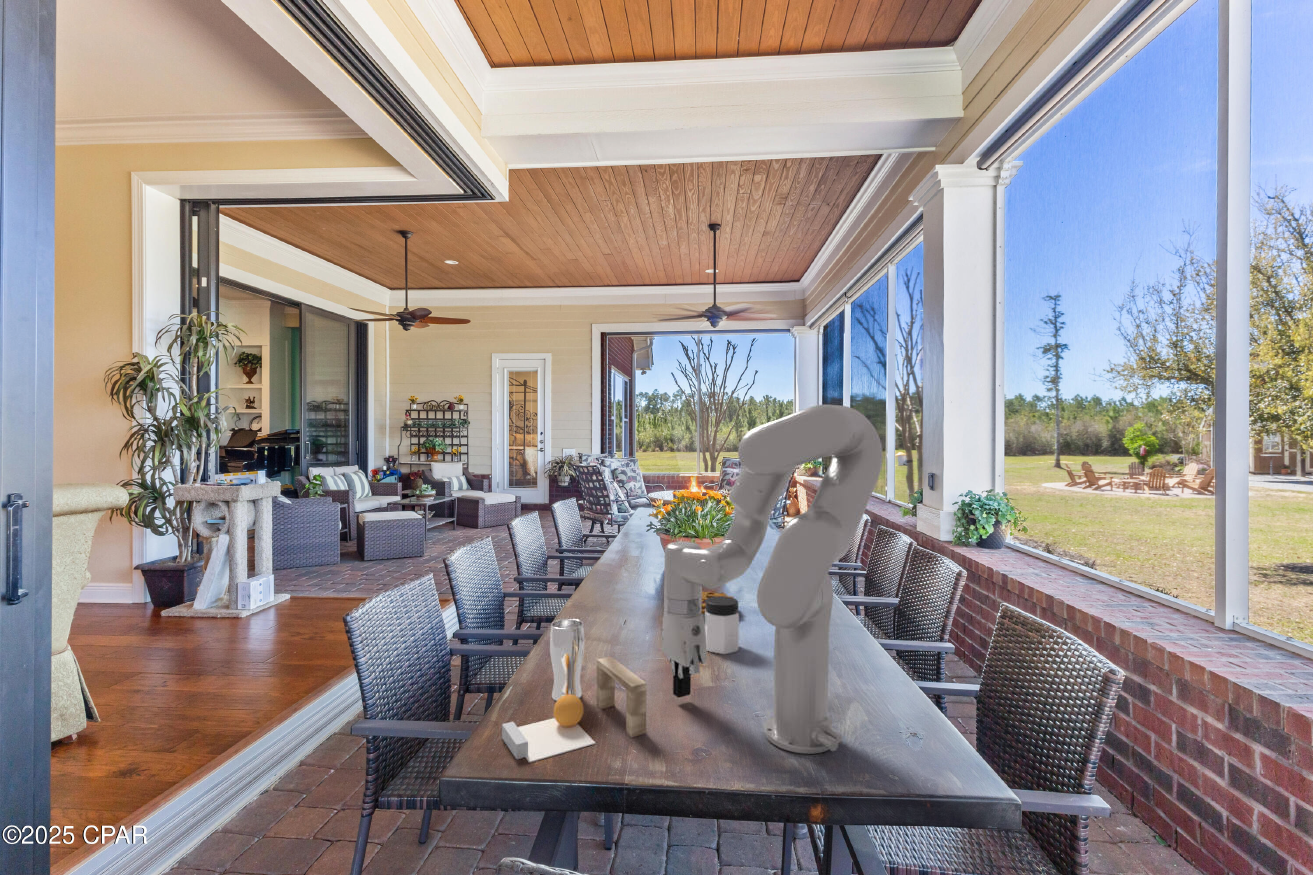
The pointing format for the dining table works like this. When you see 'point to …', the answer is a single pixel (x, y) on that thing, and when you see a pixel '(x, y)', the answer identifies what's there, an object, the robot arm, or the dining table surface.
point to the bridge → (634, 699)
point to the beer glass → (566, 656)
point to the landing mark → (553, 739)
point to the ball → (568, 710)
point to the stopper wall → (515, 740)
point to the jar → (721, 624)
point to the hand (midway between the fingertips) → (681, 694)
